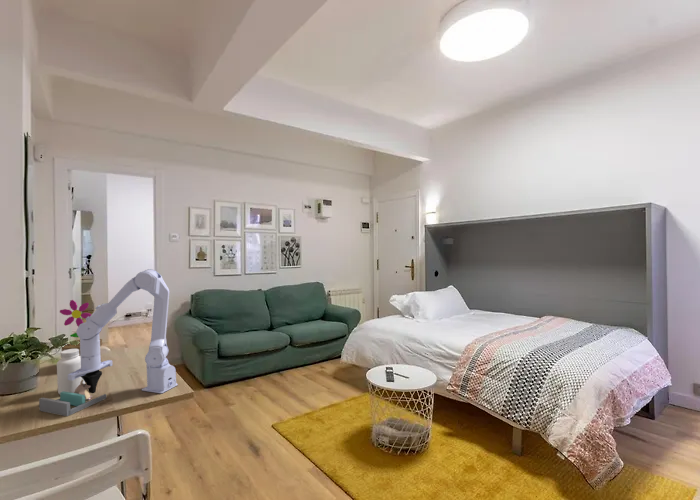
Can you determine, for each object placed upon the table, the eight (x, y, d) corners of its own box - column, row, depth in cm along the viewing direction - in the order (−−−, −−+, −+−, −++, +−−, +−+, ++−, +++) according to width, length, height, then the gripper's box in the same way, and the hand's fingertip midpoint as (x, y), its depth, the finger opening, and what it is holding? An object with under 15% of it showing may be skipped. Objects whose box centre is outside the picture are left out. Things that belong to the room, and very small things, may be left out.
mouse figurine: (66, 398, 125) (64, 380, 125) (93, 394, 128) (92, 376, 128) (60, 405, 120) (59, 386, 120) (89, 401, 123) (88, 382, 123)
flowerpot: (55, 373, 149) (51, 301, 148) (73, 361, 163) (70, 296, 162) (94, 370, 152) (91, 300, 151) (108, 358, 166) (106, 294, 165)
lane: (106, 398, 125) (105, 387, 125) (67, 416, 113) (66, 403, 113) (80, 393, 129) (79, 382, 129) (39, 410, 117) (39, 398, 117)
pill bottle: (55, 397, 126) (53, 355, 126) (61, 389, 134) (59, 349, 133) (83, 392, 130) (81, 351, 130) (87, 384, 137) (85, 345, 137)
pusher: (85, 405, 120) (85, 394, 119) (82, 406, 119) (81, 396, 118) (63, 401, 123) (63, 391, 123) (60, 402, 122) (60, 392, 122)
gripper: (102, 347, 135) (103, 383, 135) (60, 360, 121) (62, 400, 121) (116, 349, 132) (117, 385, 133) (75, 362, 119) (77, 403, 119)
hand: (92, 392), depth 127 cm, fingers closed, pressing on mouse figurine
